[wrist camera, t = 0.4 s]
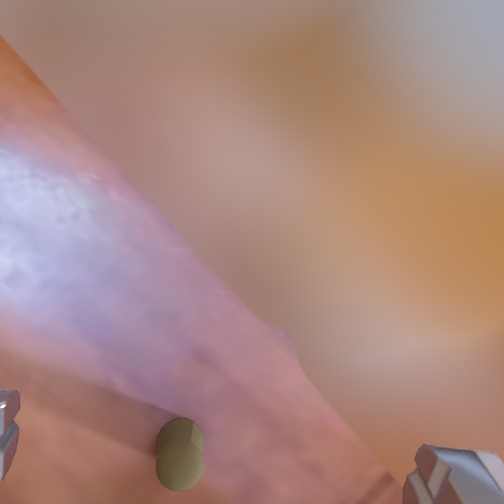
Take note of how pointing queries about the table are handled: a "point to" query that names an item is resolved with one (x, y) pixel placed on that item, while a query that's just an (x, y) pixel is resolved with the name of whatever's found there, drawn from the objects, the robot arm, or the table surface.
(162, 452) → the olive pawn
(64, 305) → the table surface
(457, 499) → the robot arm
